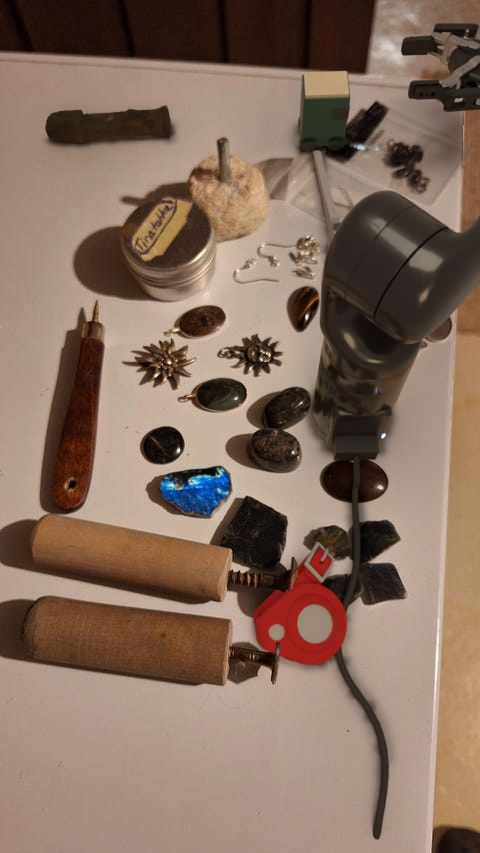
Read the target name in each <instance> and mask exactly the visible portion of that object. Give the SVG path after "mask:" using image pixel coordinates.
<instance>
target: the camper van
mask: <svg viewBox="0 0 480 853" xmlns="http://www.w3.org/2000/svg"><path fill="white" fill-rule="evenodd" d="M299 103H300V104H299V107H300V108H299V117H298V119H297V126H298V128H299V140H298V143H299V144H298V146H299V148H300V149H301V150H302V151H304V152H307V153H308V152H313V151H315V150H316V149H317V148H318V147H326V148H327V149H328V150H329V151H332V152H337V151H340V150H341V149H344V147H345V145H346V132H347V124H348V120H349V116H350V110H351V105H350V103H351V91H350V80H349V73H348V71H347V70H335V71H334V70H333V71H332V70H331V71H330V70H329V71H307V72H303V74H302V75H301V86H300V102H299Z"/></svg>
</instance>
